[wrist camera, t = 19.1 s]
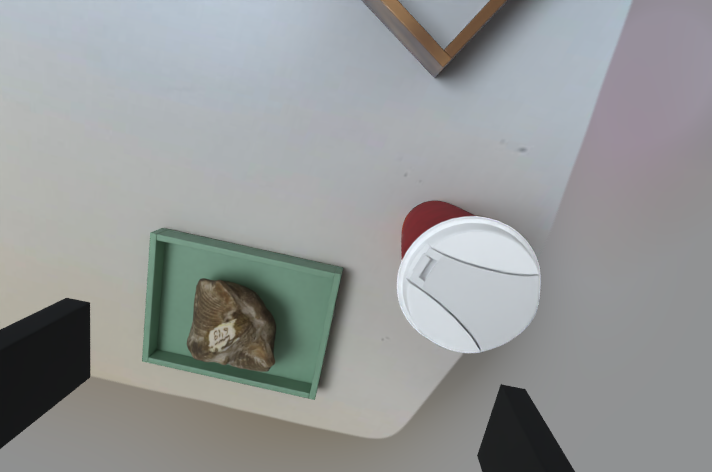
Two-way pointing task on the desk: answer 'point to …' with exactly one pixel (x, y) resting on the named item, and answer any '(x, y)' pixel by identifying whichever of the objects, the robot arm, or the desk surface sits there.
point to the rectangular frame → (419, 41)
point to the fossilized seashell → (231, 326)
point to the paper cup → (465, 278)
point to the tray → (257, 272)
